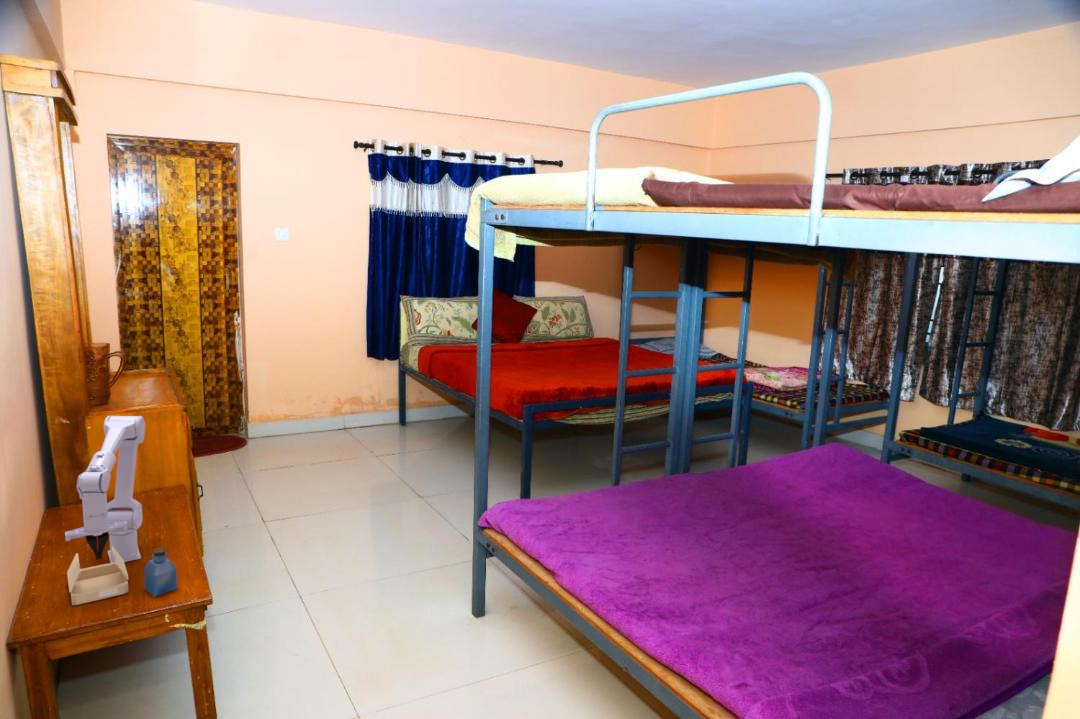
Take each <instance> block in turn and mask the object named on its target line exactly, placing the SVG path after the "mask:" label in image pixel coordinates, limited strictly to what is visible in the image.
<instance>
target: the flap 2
mask: <svg viewBox="0 0 1080 719" xmlns="http://www.w3.org/2000/svg"><path fill="white" fill-rule="evenodd" d="M112 551H113V555H114V559H115V563H116V565H117V567H118V568H119V569H120V571H121V572H122V573H123V575H124V576H125V577H126V579H127V581H128V580H129V579H130V578H129V574H128V571H127V567H126V564H125V563H126V562H124V560H123V559H122V558H121V556H120V555H119V554H118V552H117V551H116V550H115V548H114V547H113V546H112Z"/></svg>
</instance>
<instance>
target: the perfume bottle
mask: <svg viewBox="0 0 1080 719" xmlns="http://www.w3.org/2000/svg"><path fill="white" fill-rule="evenodd" d="M167 557H168V556H167V552H166V548H165V547H164V546H163V547H162V546H161V547H160V546H159V547H157V548H154V549H153V550H152V559H151V560H150V559H149V561H147V564H146V565H145V567H144V568H143V571H144V572H143V574H144V589H145V590H146V591H148V593H150V595H152V596H153V597H154V598H155V597H158V596H160V595H164V594H166V593H169V592H171V591H175V590H177V589H178V573H177V567H176V566H175V565H174V564H173V562H172V561H171V560H170V559H168V558H167Z"/></svg>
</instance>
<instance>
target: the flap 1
mask: <svg viewBox="0 0 1080 719" xmlns="http://www.w3.org/2000/svg"><path fill="white" fill-rule="evenodd" d="M80 569H81V565H80V559H79V553H75V555H74V557H73V559H72V561H71V563H70V566H69V568H68V569H67V571H66V574H67V575H66V576H67V582H68V583H67V584H68V591H69V593H71V592H72V590H73V587H74V585H75V583H76V581H77V579H78V577H79V575H80V573H81V571H80Z"/></svg>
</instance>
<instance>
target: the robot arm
mask: <svg viewBox="0 0 1080 719" xmlns="http://www.w3.org/2000/svg"><path fill="white" fill-rule="evenodd" d="M145 432H146V422H145V419H144V417H143V416H142V415H134V416H133V415H108V416H106V418H105V419H104V422H103V433H104V436H105V437H104V441H103V443H102V445H101V448H100V450H99V451H97V452H95V453H94V454H93V455H92V456H93V457H92V458H91V460H90V463H89V464H88V465H87V468H86V470H85V471H84V472H82V473H80V474H79V475H78V477H77V480H76V490H77V492H78V494H79V499H80V500H82V501H81V502H82V504H81V505H82V517H83V527H78V528H75V529H72V530H68V531H65V532H64V536H65V542H69V541H71V540H73V539H79V538H84V537H85V541H86V543H87V544H88V545H89V547H90V548H91V551H93V555H94V557H95V561H97V560H101V559H102V560H103V552H104V549H105V547H106V545H107V542H108V540H109V549H108V550H107V555H108V558H109V559H108V560H109V563H113V562H115V559H114V555H113V551H112V546H113V547H114V548H115V550H116V551H117V552H118V554H119V555H120V556H121V558H122V559H123V560H124V563H127V562H133V561H136V560H141V558H142V556H141V553H140V550H139V545H138V531H137V530H138V529H139V528H140V527H141V526H142V524H143V519H144V518H143V517H144V516H143V504H141V502H139V501H138V500H136V499H135V498H134V497H133V496H134V487H135V486H134V485H135V477H136V476H135V475H136V466H137V465H136V463H137V454H138V447H139V444H142V443H144V439H145ZM116 452H118V456H117V457H118V458H116V455H115V454H116ZM116 462H117V468H116V478H115V479H116V480H115V487H114V488H115V490H114V498H113V499H112V500H110V501H108V499H107V498H108V497H107V491H108V489H109V487H110V481H111V476H112V475H111V473H112V471H113V469H114V466H115V463H116ZM116 508H117V509H116ZM121 508H122V509H121ZM124 508H125V509H124Z"/></svg>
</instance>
